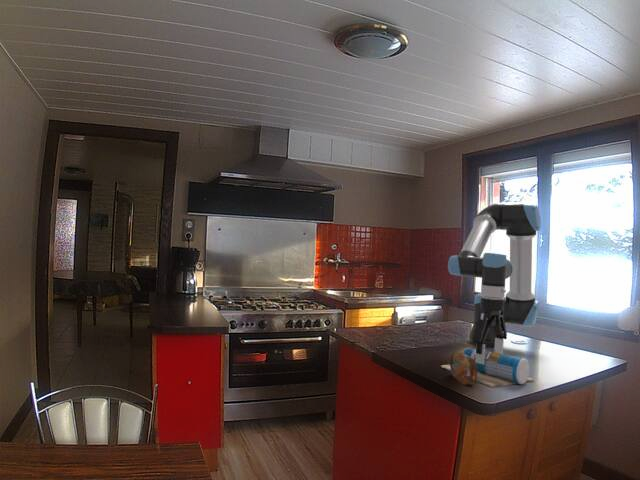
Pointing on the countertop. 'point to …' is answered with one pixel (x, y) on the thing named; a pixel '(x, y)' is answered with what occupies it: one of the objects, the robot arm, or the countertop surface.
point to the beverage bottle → (502, 366)
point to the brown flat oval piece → (463, 368)
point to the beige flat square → (490, 379)
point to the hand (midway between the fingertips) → (489, 360)
